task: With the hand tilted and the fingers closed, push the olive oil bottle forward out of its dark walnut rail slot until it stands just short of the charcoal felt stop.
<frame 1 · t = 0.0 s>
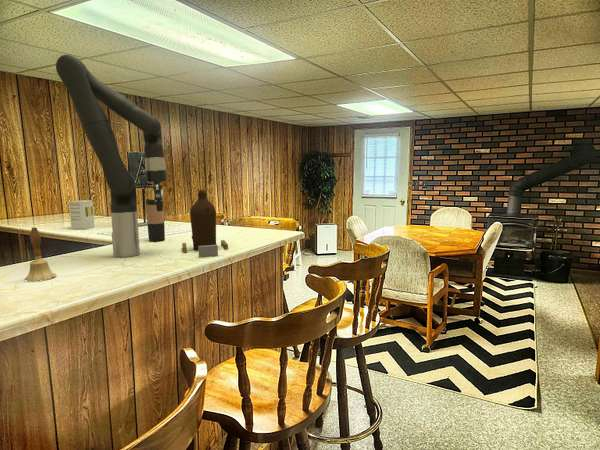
hand: (160, 210, 151), 17 cm above the countertop, tool pointing down, fingers open, 8 cm apart
olive oil: (204, 249, 160), on the countertop
felt stop: (208, 256, 145), on the countertop
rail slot: (204, 248, 160), on the countertop
travel mug: (157, 241, 180), on the countertop
hand bell: (40, 279, 117), on the countertop
supplement box: (83, 228, 228), on the countertop
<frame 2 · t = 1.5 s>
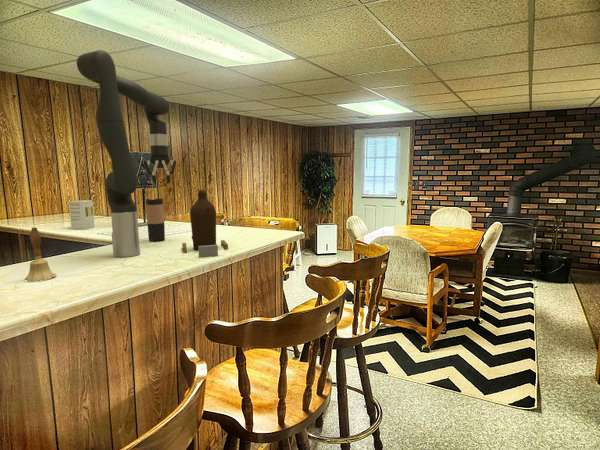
hand: (161, 183, 169), 27 cm above the countertop, tool pointing down, fingers open, 4 cm apart
nothing on the countertop moved.
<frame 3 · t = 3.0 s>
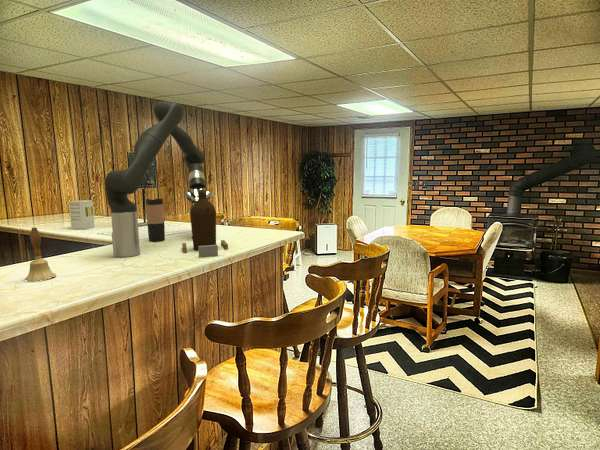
hand: (200, 208, 176), 15 cm above the countertop, tool tilted 45°, fingers closed
nothing on the countertop moved.
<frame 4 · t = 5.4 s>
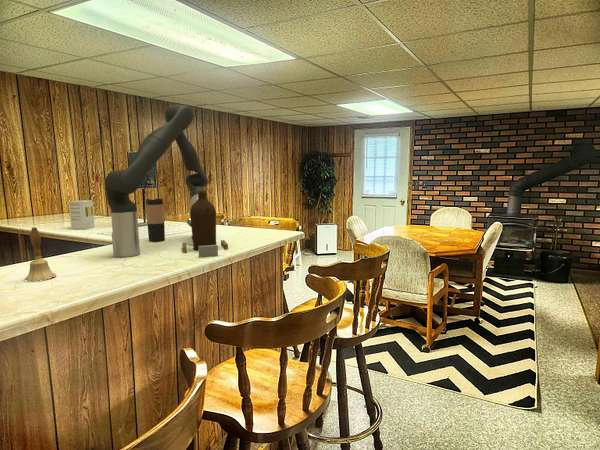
hand: (203, 236, 164), 4 cm above the countertop, tool tilted 45°, fingers closed
olive oil: (204, 249, 160), on the countertop, touching gripper
everything else where it was.
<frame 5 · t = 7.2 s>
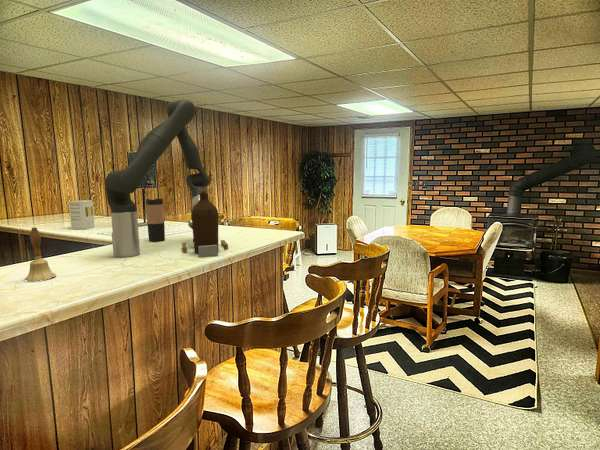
hand: (205, 239, 157), 4 cm above the countertop, tool tilted 45°, fingers closed
olive oil: (206, 252, 153), on the countertop, touching gripper
everything else where it was.
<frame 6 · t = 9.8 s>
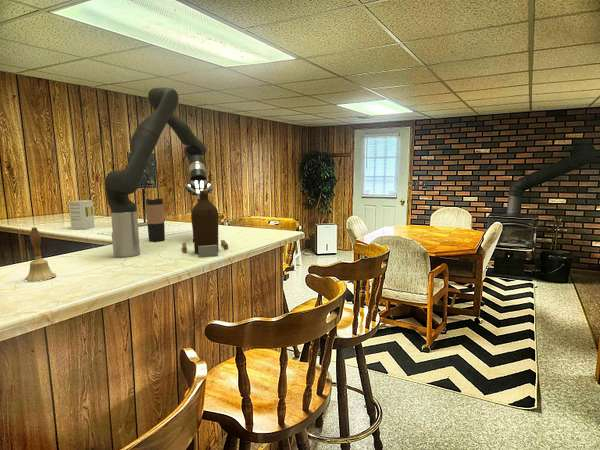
hand: (200, 201, 167), 19 cm above the countertop, tool tilted 45°, fingers closed
olive oil: (206, 252, 153), on the countertop
everything else where it was.
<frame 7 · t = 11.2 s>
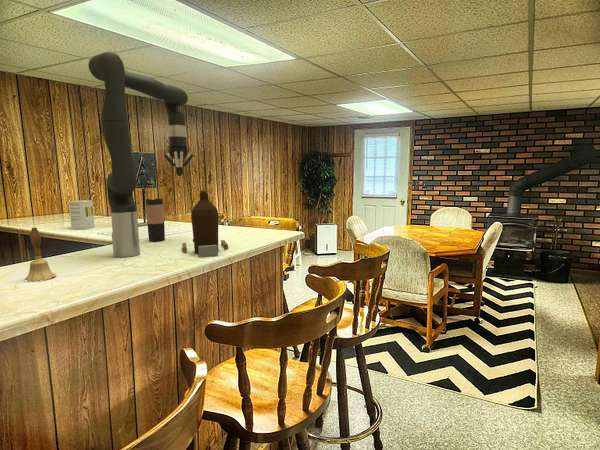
hand: (179, 175, 169), 31 cm above the countertop, tool pointing down, fingers closed
nothing on the countertop moved.
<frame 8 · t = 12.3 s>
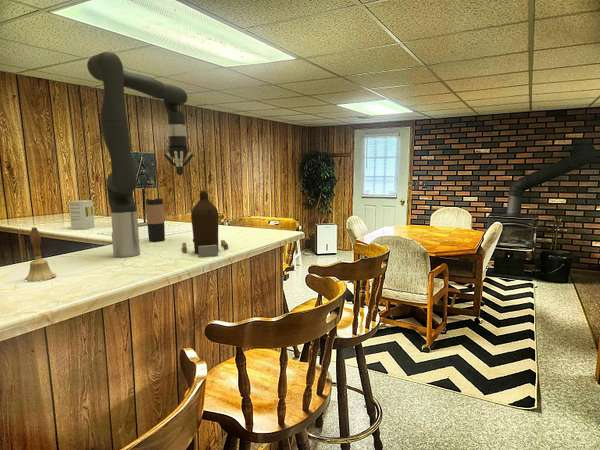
hand: (179, 175, 169), 31 cm above the countertop, tool pointing down, fingers closed
nothing on the countertop moved.
at the end: olive oil inside the target area (1.7 cm from its centre), on the countertop; olive oil tilted 0°; olive oil moved 7.6 cm from its start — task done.
